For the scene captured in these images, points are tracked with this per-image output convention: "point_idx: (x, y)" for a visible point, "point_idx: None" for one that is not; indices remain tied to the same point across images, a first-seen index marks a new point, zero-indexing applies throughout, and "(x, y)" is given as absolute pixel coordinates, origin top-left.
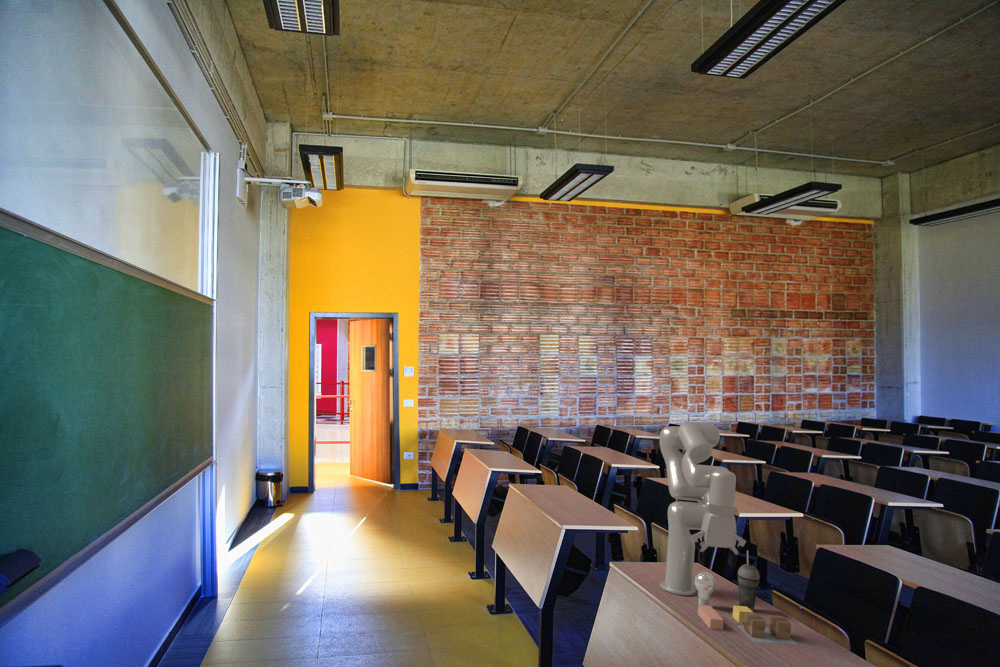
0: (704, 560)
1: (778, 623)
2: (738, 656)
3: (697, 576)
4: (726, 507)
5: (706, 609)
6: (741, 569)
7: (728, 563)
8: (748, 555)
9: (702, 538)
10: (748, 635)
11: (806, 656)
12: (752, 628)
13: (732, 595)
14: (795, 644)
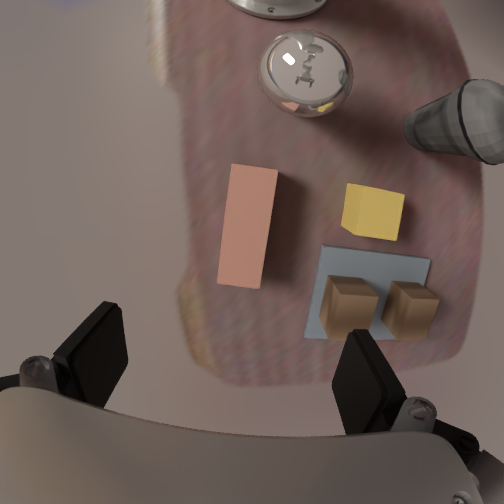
0: (114, 383)
1: (396, 339)
2: (229, 380)
3: (267, 60)
4: None
5: (242, 206)
6: (484, 110)
7: (349, 334)
8: None
9: (6, 406)
10: (316, 307)
11: None
12: (324, 328)
13: (427, 37)
14: None
